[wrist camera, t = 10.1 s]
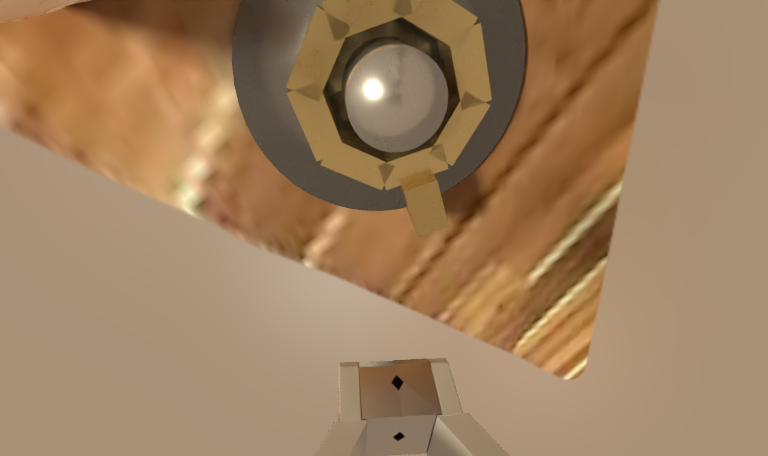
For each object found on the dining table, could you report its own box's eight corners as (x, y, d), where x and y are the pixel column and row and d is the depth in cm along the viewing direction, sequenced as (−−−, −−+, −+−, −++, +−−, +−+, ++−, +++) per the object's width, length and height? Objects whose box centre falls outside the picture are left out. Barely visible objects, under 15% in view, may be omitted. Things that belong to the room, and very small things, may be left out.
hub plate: (284, -192, 19) (274, -246, 15) (579, -2, 26) (635, 1, 21) (204, 161, 28) (183, 195, 23) (439, 235, 34) (458, 272, 30)
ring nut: (263, 21, 23) (254, 27, 20) (453, -50, 23) (476, -55, 19) (352, 229, 32) (356, 257, 29) (490, 181, 31) (511, 205, 28)
